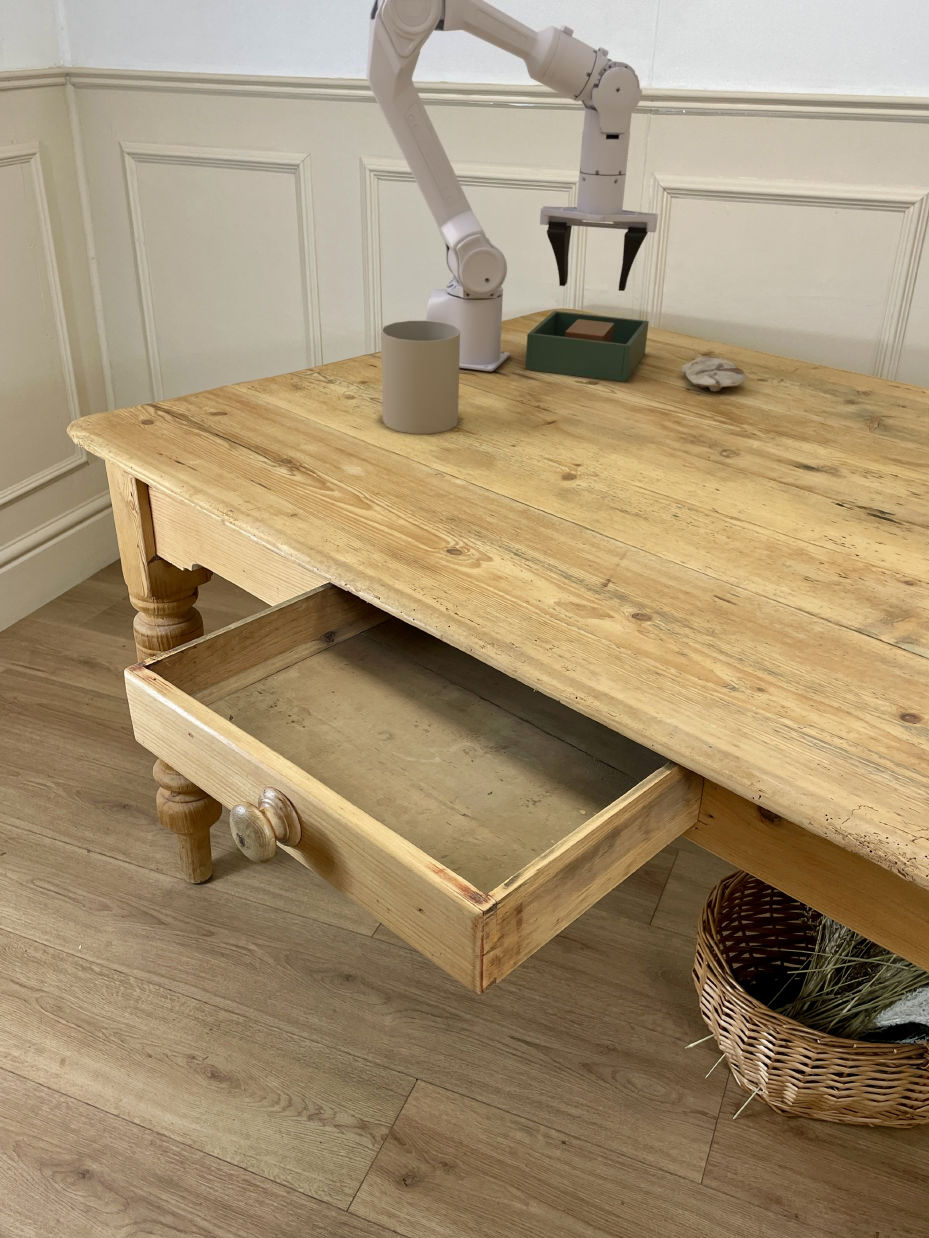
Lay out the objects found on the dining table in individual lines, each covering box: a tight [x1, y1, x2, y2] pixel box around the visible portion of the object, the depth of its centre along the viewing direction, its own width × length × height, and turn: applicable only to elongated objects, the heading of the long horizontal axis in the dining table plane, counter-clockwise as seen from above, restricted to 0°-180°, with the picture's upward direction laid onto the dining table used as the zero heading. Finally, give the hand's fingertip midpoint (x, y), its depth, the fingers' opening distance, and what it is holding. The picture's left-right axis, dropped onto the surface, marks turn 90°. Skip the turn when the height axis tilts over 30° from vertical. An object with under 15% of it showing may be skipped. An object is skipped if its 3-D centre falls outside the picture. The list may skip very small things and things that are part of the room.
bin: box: [524, 310, 649, 383], centre depth 131 cm, size 13×13×5 cm
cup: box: [380, 320, 460, 435], centre depth 108 cm, size 8×8×10 cm
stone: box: [681, 354, 747, 392], centre depth 125 cm, size 10×7×3 cm
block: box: [565, 319, 614, 342], centre depth 131 cm, size 5×7×4 cm
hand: (592, 287), depth 129 cm, fingers open, 7 cm apart
